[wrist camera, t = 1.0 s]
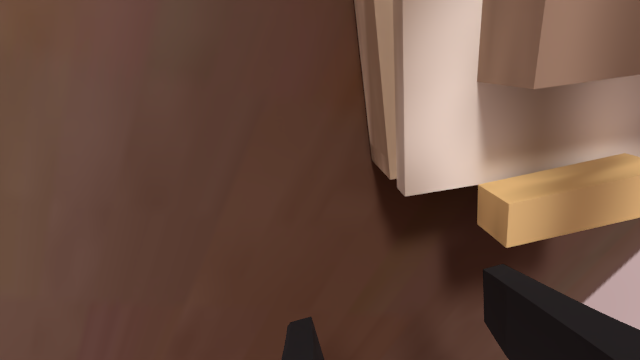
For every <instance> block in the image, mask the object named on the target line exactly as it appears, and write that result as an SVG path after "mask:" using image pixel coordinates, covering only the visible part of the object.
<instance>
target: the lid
mask: <svg viewBox="0 0 640 360" xmlns="http://www.w3.org/2000/svg"><path fill="white" fill-rule="evenodd" d="M393 34H394V78H395V122H396V166H397V188H398V190H399V191H400V192H401V193H402V194H403V195H404V196H412V195H418V194H424V193H430V192H436V191H442V190H449V189H455V188H461V187H467V186H473V185H479V184H483V183H488V182H493V181H497V180H502V179H507V178H511V177H516V176H521V175H525V174H530V173H535V172H539V171H544V170H549V169H553V168H558V167H563V166H567V165H572V164H577V163H581V162H586V161H590V160H595V159H600V158H604V157H609V156H614V155H618V154H623V153H627V154H630V155H634V156H637V157H640V0H393Z"/></svg>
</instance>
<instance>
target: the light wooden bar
mask: <svg viewBox="0 0 640 360" xmlns="http://www.w3.org/2000/svg"><path fill="white" fill-rule="evenodd" d="M639 217H640V157H637V156H634V155H630V154H627V153H623V154H618V155H614V156H609V157H604V158H600V159H595V160H590V161H586V162H581V163H577V164H572V165H567V166H563V167H558V168H553V169H549V170H544V171H539V172H535V173H530V174H525V175H521V176H516V177H511V178H507V179H502V180H497V181H493V182H488V183H483V184H479V185H478V213H477V224H478V225H479V226H480V227H481V228H483V229H484V230H485V231H486V232H487V233H489V234H490V235H491V236H492V237H494V238H495V239H496V240H497V241H498V242H500V243H501V244H502V245H503V246H504V247H506V248H509V247H513V246H517V245H522V244H526V243H530V242H535V241H539V240H543V239H548V238H552V237H556V236H561V235H565V234H570V233H574V232H578V231H583V230H587V229H591V228H596V227H600V226H604V225H609V224H613V223H617V222H622V221H626V220H631V219H635V218H639Z"/></svg>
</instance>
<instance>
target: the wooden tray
mask: <svg viewBox="0 0 640 360" xmlns="http://www.w3.org/2000/svg"><path fill="white" fill-rule="evenodd" d="M354 4H355V13H356V22H357V31H358V40H359V49H360V58H361V67H362V76H363V85H364V94H365V103H366V112H367V121H368V130H369V139H370V148H371V157H372V161H373V162H374V163H375V164H376V165H377V166H378V167H379V168H380V169H381V170H382V172H383V173H384V174H385V175H386V176H387V177H388V178H389V179H390V180H392V179H396V178H397V166H396V122H395V78H394V34H393V0H354Z"/></svg>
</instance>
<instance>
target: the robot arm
mask: <svg viewBox="0 0 640 360" xmlns="http://www.w3.org/2000/svg"><path fill="white" fill-rule="evenodd" d="M483 290H484V322H485V323H486V325H487V327H488V328H489V330H490V331H491V333H492V335H493V336H494V338H495V339H496V341H497V343H498V344H499V346H500V347H501V349H502V350H503V352H504V353H505V355H506V356H507V357H508V359H509V360H640V330H639V329H636V328H634V327H632V326H629V325H627V324H625V323H623V322H620V321H618V320H616V319H614V318H611V317H609V316H607V315H605V314H603V313H600V312H599V311H597V310H595V309H592V308H590V307H588V306H586V305H584V304H582V303H580V302H578V301H576V300H574V299H572V298H570V297H568V296H566V295H564V294H562V293H560V292H558V291H556V290H554V289H552V288H550V287H548V286H546V285H544V284H542V283H540V282H538V281H536V280H534V279H532V278H530V277H528V276H526V275H524V274H522V273H520V272H518V271H516V270H514V269H512V268H510V267H508V266H506V265H504V264H501V265H497V266H494V267H490V268H486V269H483ZM282 360H324V357H323V354H322V351H321V347H320V344H319V341H318V337H317V334H316V331H315V327H314V324H313V321H312V318H311V317H308V318H305V319H301V320H297V321H294V322H290V324H289V325H288V327H287V335H286V340H285V346H284V351H283V355H282Z"/></svg>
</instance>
